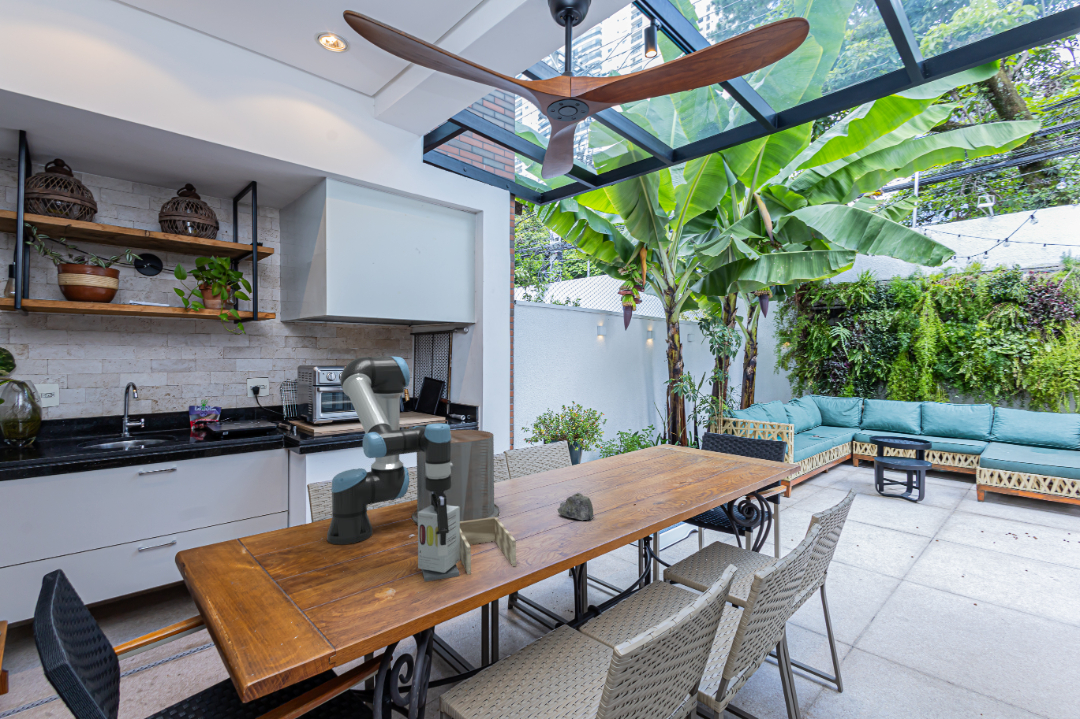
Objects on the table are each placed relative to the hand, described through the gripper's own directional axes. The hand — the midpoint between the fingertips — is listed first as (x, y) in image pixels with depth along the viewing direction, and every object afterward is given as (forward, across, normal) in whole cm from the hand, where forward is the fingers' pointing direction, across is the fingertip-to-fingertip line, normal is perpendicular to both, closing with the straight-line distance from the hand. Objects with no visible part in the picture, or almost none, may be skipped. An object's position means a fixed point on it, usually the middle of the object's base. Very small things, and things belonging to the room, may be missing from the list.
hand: (439, 546), depth 146 cm
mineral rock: (+8, +28, -58) cm, 65 cm away
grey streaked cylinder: (+8, +49, -14) cm, 51 cm away
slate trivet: (+8, 0, 0) cm, 8 cm away
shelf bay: (+8, +6, -15) cm, 18 cm away
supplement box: (+6, 0, 0) cm, 6 cm away
